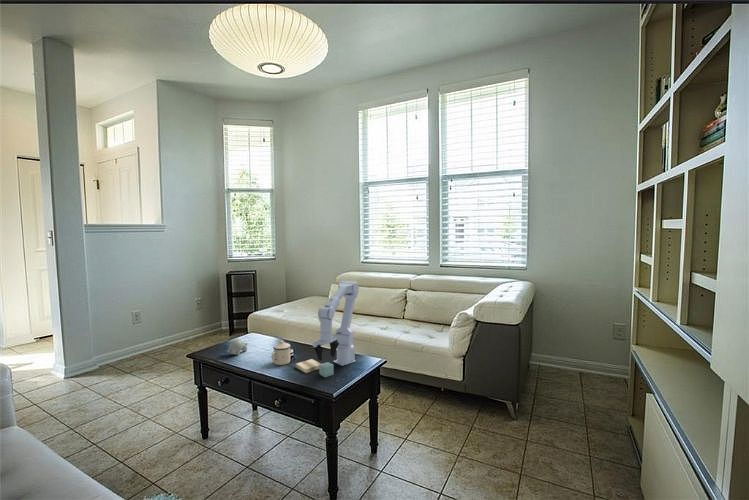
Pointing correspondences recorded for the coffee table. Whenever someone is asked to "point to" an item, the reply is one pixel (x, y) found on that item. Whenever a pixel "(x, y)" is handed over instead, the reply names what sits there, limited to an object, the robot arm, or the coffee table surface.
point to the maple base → (308, 365)
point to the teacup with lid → (281, 353)
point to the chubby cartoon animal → (237, 347)
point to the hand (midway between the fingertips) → (326, 358)
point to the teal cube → (326, 369)
